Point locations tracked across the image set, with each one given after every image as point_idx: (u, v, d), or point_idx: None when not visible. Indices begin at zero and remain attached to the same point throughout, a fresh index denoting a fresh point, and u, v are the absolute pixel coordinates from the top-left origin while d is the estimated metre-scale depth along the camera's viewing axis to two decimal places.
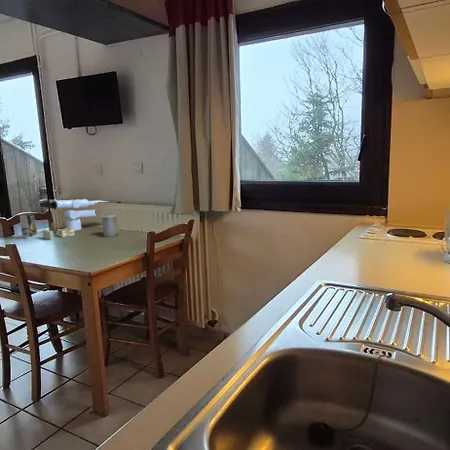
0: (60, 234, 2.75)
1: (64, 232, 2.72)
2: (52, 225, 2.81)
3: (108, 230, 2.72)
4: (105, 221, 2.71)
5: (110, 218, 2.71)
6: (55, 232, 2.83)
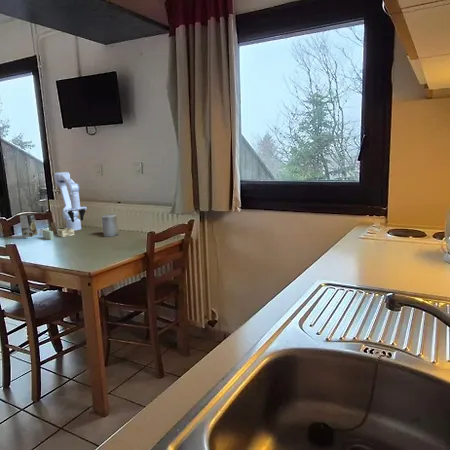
0: (60, 234, 2.75)
1: (64, 232, 2.72)
2: (52, 225, 2.81)
3: (108, 230, 2.72)
4: (105, 221, 2.71)
5: (110, 218, 2.71)
6: (55, 232, 2.83)
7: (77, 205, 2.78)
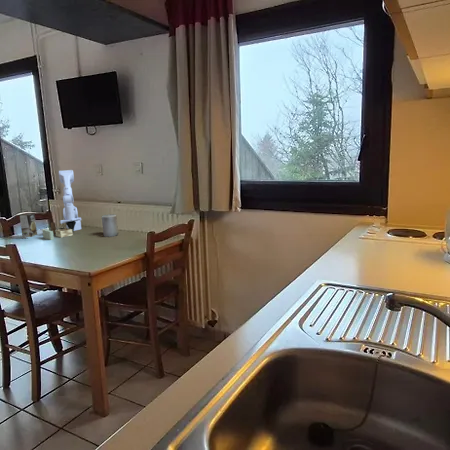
0: (58, 234, 2.74)
1: (62, 232, 2.71)
2: (52, 225, 2.81)
3: (108, 230, 2.72)
4: (105, 221, 2.71)
5: (110, 218, 2.71)
6: (55, 232, 2.83)
7: (71, 216, 2.76)
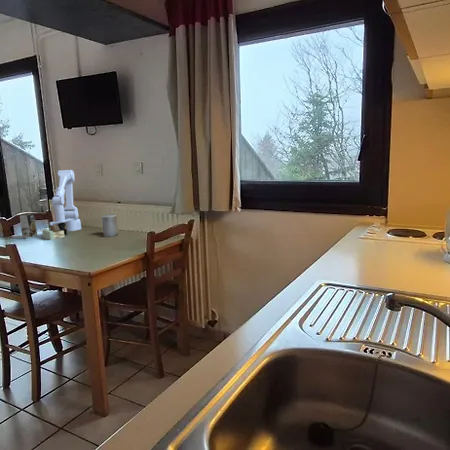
0: None
1: (54, 234, 2.67)
2: (52, 225, 2.81)
3: (108, 230, 2.72)
4: (105, 221, 2.71)
5: (110, 218, 2.71)
6: None
7: (62, 218, 2.71)
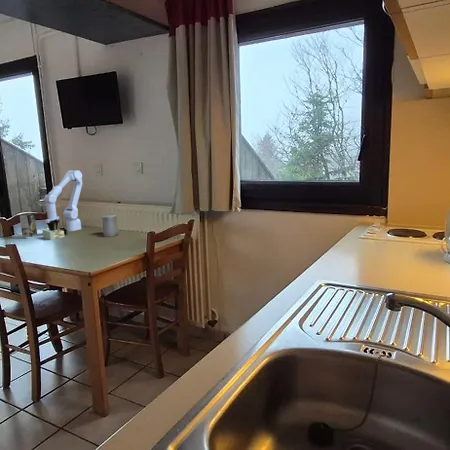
0: None
1: (54, 234, 2.67)
2: None
3: (108, 230, 2.72)
4: (105, 221, 2.71)
5: (110, 218, 2.71)
6: None
7: (55, 215, 2.81)
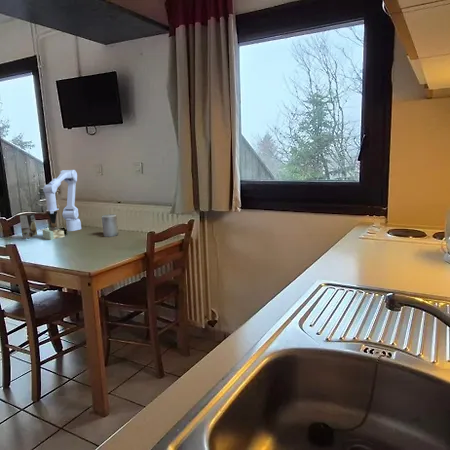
0: None
1: (54, 234, 2.67)
2: None
3: (108, 230, 2.72)
4: (105, 221, 2.71)
5: (110, 218, 2.71)
6: (55, 223, 2.73)
7: (56, 205, 2.72)
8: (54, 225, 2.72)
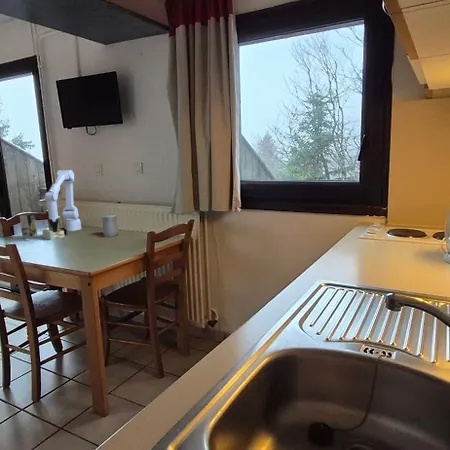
0: None
1: (54, 234, 2.67)
2: None
3: (108, 230, 2.72)
4: (105, 221, 2.71)
5: (110, 218, 2.71)
6: None
7: (57, 213, 2.71)
8: None
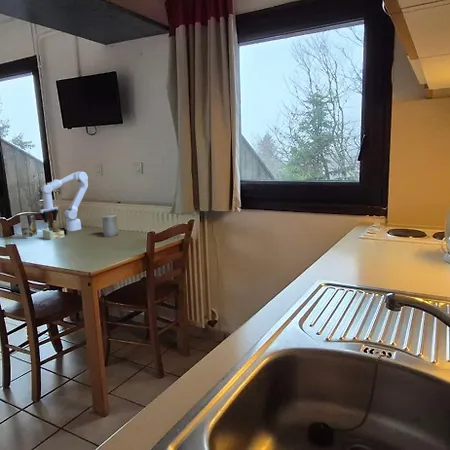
0: None
1: (54, 234, 2.67)
2: (55, 225, 2.70)
3: (108, 230, 2.72)
4: (105, 221, 2.71)
5: (110, 218, 2.71)
6: None
7: (51, 205, 2.82)
8: None
